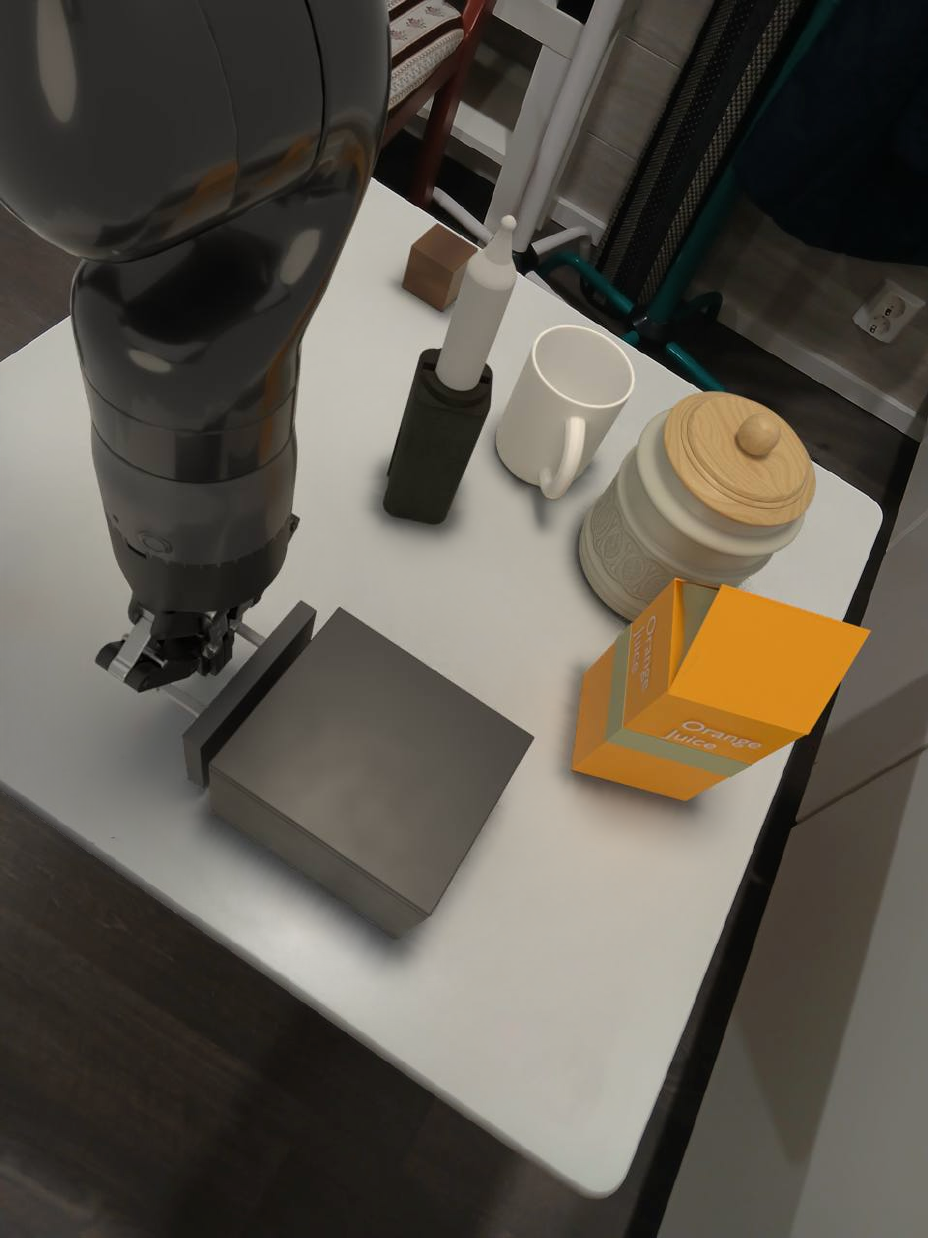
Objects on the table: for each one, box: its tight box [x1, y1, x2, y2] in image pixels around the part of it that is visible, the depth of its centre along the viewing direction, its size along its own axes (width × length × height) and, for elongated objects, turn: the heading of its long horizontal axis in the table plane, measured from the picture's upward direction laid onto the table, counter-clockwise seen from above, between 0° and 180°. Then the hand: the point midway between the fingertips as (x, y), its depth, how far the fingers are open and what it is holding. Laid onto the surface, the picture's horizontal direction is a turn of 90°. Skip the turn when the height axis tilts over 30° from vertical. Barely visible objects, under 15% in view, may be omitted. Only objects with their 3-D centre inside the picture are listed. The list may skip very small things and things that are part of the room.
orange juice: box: [571, 578, 872, 802], centre depth 51 cm, size 8×9×20 cm
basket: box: [149, 599, 318, 790], centre depth 48 cm, size 17×10×8 cm, turn 59°
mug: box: [495, 324, 636, 500], centre depth 64 cm, size 12×8×10 cm
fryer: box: [209, 606, 535, 940], centre depth 48 cm, size 14×12×10 cm
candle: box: [382, 214, 518, 525], centre depth 54 cm, size 5×5×25 cm
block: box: [401, 222, 479, 313], centre depth 74 cm, size 4×4×4 cm
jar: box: [578, 390, 817, 623], centre depth 60 cm, size 13×13×18 cm
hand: (209, 659), depth 48 cm, fingers closed
